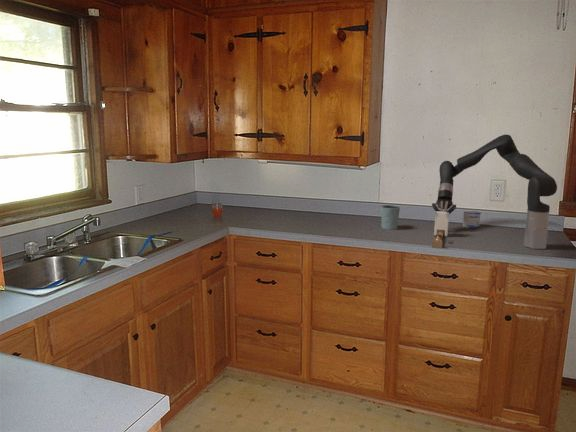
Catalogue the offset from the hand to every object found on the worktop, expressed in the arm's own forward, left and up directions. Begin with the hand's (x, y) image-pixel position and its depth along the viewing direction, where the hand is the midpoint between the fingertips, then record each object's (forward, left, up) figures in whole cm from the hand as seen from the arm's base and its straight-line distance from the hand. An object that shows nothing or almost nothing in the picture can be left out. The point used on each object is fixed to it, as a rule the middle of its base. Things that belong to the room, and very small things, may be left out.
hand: (442, 219), depth 264 cm
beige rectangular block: (-6, +3, -7) cm, 10 cm away
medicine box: (+13, -21, -7) cm, 26 cm away
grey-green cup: (+11, +25, -7) cm, 28 cm away
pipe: (-14, +3, -7) cm, 16 cm away
